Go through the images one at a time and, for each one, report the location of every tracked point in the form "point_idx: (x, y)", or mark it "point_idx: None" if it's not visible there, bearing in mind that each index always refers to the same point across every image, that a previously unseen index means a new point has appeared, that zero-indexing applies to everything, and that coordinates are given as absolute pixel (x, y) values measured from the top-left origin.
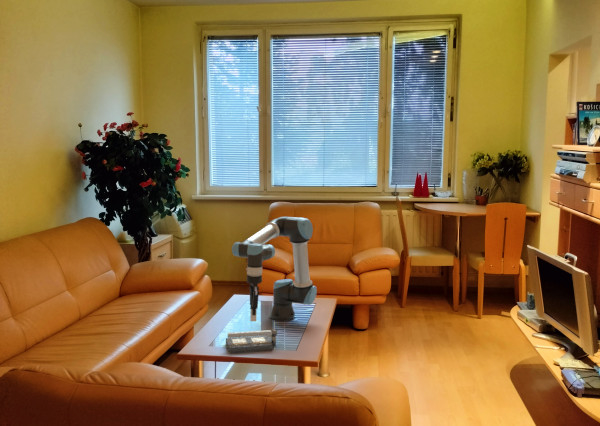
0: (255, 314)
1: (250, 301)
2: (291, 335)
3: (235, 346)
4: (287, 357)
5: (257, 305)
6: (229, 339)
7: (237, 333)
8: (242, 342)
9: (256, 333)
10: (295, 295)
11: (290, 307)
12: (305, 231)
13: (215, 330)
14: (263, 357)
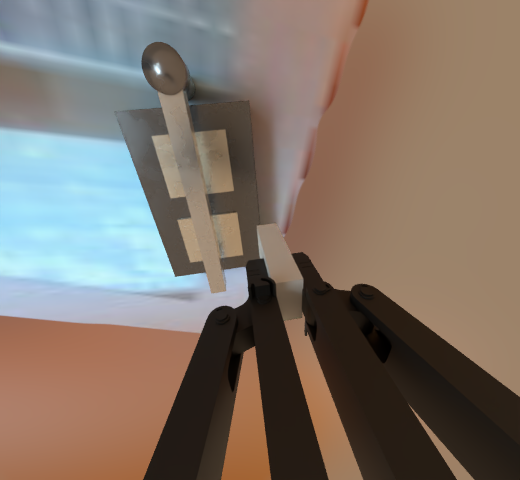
0: (306, 256)
1: (237, 383)
2: None
3: (253, 248)
4: (327, 40)
5: (407, 313)
6: (186, 266)
7: (219, 263)
8: (223, 229)
9: (203, 184)
10: None
11: None
12: None
13: (48, 297)
14: (304, 152)
